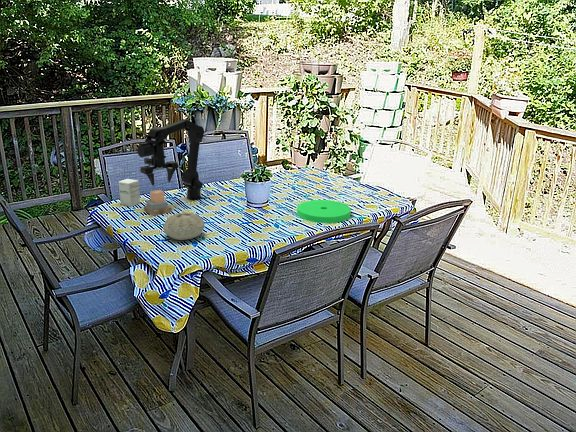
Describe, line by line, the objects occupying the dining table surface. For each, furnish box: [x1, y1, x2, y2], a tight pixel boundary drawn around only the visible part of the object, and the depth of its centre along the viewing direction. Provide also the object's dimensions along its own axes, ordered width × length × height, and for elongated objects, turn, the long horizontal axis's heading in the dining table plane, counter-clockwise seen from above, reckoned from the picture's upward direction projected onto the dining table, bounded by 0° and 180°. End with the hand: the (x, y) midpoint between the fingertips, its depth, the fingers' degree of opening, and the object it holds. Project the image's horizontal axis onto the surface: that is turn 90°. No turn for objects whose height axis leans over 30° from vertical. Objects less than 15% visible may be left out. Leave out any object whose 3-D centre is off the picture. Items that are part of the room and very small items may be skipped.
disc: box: [296, 199, 352, 224], centre depth 254 cm, size 27×27×3 cm
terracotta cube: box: [149, 189, 166, 203], centre depth 251 cm, size 5×5×5 cm
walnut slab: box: [143, 204, 172, 217], centre depth 253 cm, size 10×10×3 cm
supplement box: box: [118, 178, 141, 208], centre depth 262 cm, size 7×7×13 cm
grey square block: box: [145, 199, 169, 211], centre depth 252 cm, size 8×8×3 cm
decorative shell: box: [163, 212, 205, 241], centre depth 222 cm, size 18×18×10 cm
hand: (161, 183), depth 255 cm, fingers open, 9 cm apart
